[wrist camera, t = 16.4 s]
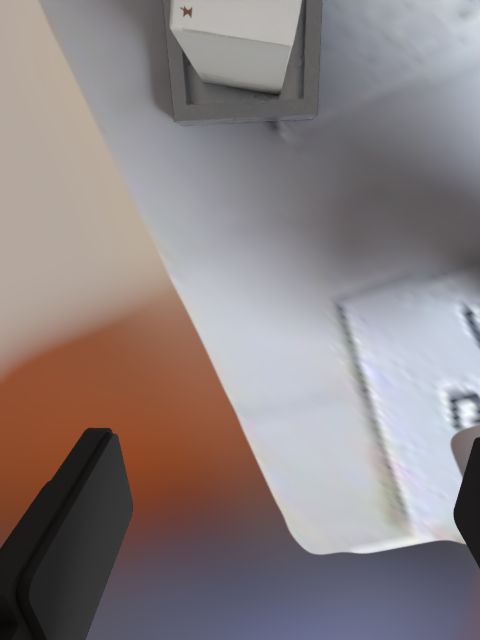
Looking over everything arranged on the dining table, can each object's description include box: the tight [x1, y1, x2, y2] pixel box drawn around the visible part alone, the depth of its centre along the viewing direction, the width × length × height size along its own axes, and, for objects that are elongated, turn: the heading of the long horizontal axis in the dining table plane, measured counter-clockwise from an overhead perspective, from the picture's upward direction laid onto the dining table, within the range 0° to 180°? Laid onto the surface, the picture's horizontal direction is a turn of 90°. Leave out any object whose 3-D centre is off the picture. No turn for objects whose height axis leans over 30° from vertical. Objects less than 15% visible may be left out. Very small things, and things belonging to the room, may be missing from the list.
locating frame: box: [163, 0, 322, 126], centre depth 29 cm, size 12×12×3 cm
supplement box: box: [169, 0, 302, 95], centre depth 24 cm, size 7×7×13 cm
